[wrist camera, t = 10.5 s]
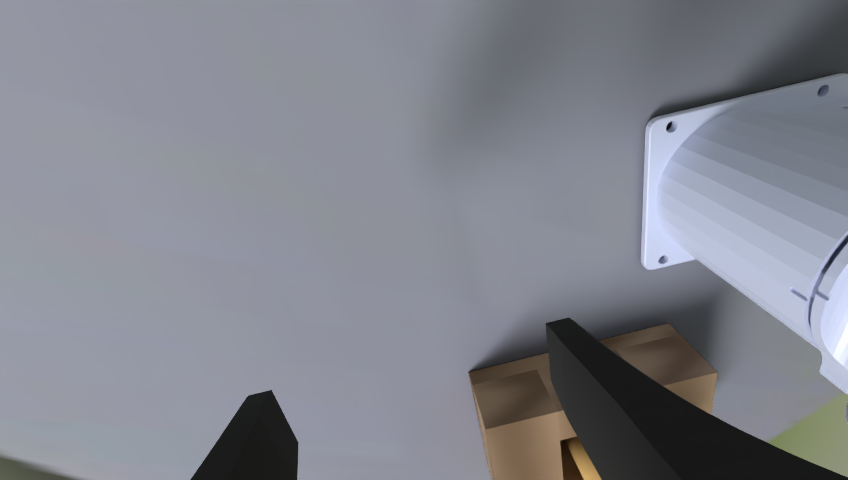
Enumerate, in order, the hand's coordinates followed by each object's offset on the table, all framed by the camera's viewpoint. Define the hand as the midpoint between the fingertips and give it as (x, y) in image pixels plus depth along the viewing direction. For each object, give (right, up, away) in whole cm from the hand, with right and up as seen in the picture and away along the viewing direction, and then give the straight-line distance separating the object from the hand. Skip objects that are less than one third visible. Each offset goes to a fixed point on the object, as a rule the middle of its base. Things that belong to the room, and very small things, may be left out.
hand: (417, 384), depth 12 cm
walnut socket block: (+9, -6, +16) cm, 20 cm away
